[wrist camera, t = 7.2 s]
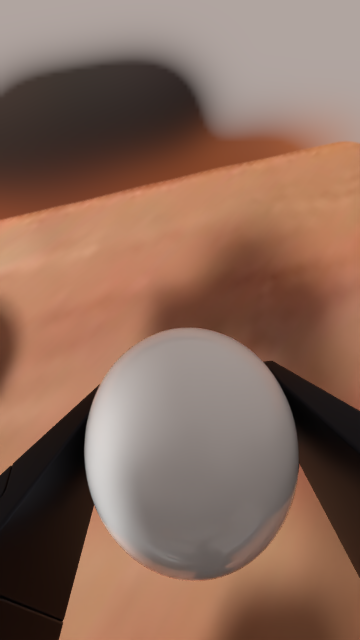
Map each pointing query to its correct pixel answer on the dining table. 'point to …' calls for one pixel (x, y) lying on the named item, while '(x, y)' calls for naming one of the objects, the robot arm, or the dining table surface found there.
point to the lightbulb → (191, 454)
